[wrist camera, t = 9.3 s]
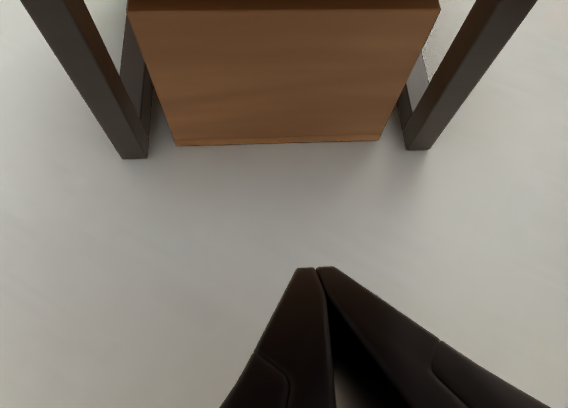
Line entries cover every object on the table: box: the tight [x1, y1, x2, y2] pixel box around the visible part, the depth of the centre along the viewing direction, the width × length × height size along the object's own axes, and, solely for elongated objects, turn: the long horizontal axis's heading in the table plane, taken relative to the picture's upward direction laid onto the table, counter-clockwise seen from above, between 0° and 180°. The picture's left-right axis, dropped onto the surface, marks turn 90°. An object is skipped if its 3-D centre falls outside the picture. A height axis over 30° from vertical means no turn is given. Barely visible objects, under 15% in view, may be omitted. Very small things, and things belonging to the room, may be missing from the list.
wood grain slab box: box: [126, 0, 441, 146], centre depth 19 cm, size 10×10×8 cm
